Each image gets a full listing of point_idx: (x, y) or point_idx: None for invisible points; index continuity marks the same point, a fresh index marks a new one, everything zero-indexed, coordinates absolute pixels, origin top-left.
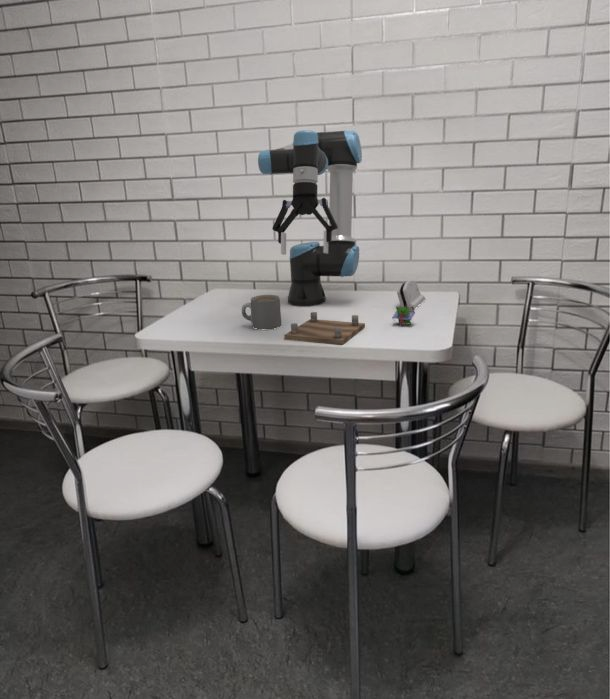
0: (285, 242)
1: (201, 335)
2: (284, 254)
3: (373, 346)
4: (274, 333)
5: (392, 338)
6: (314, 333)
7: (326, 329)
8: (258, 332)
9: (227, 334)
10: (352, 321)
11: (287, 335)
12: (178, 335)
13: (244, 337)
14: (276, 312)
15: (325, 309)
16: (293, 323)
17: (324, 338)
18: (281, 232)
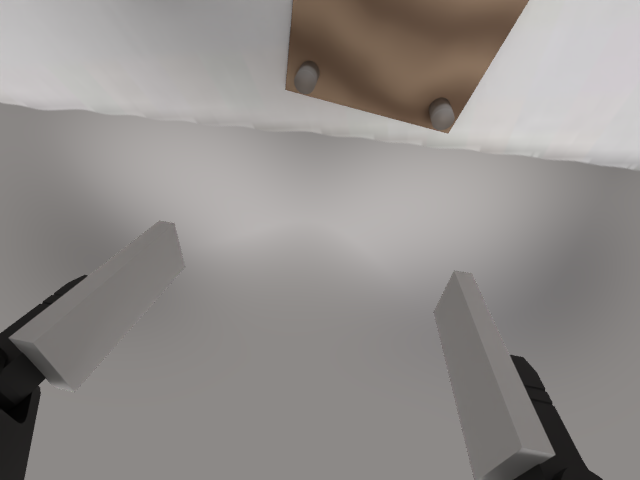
0: (118, 287)
1: (59, 58)
2: (168, 228)
3: (525, 136)
4: (233, 17)
5: (631, 54)
6: (369, 71)
7: (407, 13)
8: (178, 7)
9: (111, 41)
10: None
11: (295, 92)
12: (8, 62)
13: (177, 71)
14: None
15: None
16: (299, 72)
17: (400, 120)
18: (58, 387)
